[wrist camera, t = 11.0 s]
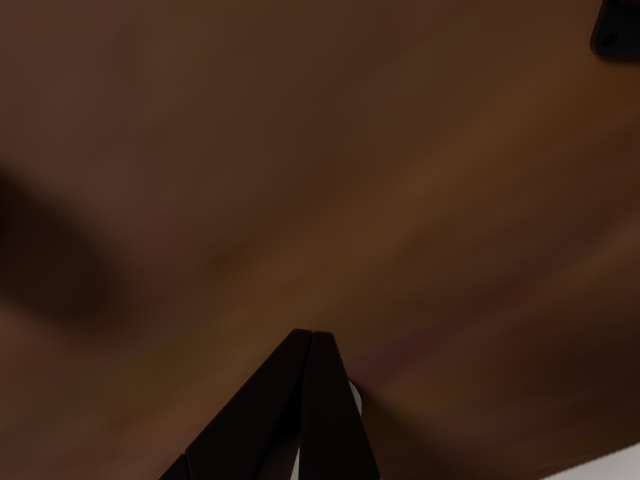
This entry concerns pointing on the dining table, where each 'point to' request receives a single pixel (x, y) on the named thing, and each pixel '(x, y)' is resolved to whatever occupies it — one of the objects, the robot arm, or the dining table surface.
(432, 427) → the dining table surface
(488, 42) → the dining table surface
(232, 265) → the dining table surface
